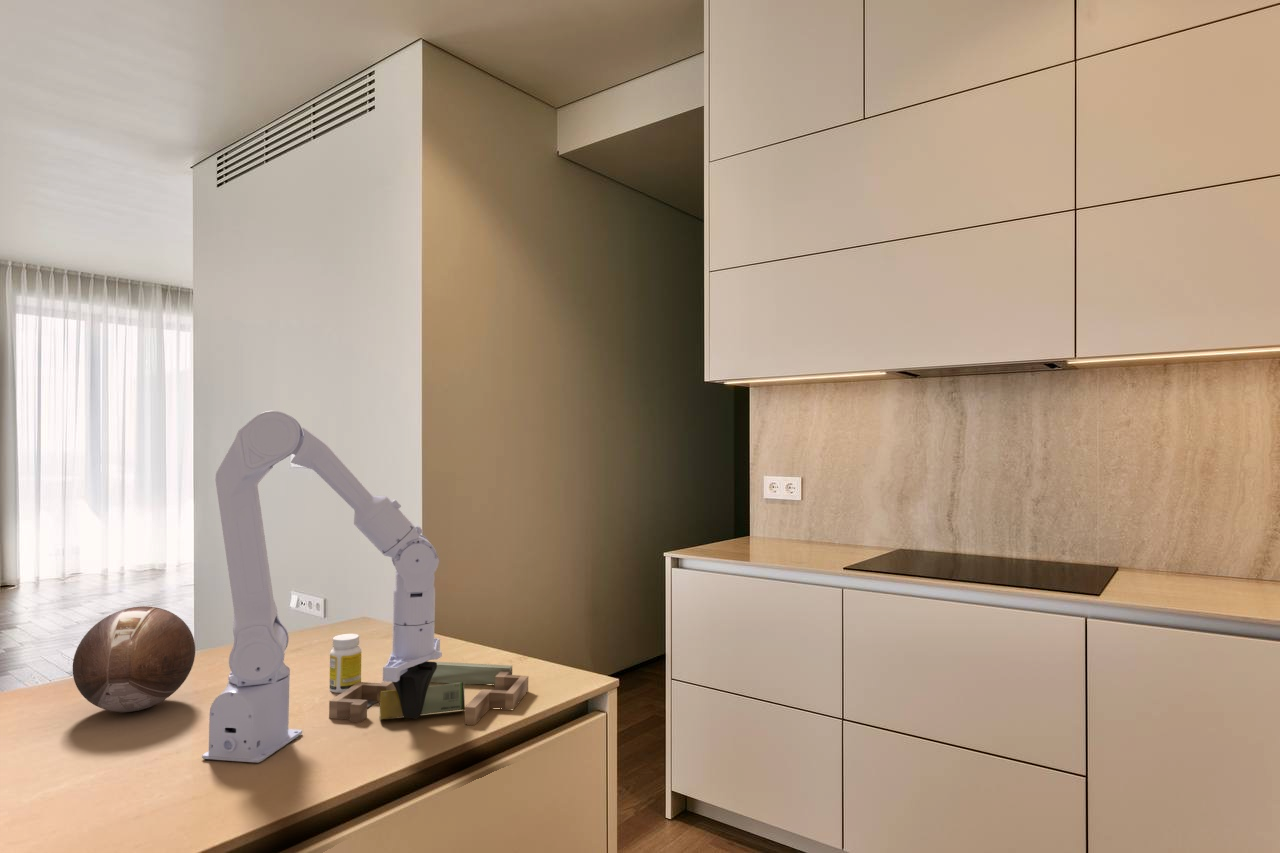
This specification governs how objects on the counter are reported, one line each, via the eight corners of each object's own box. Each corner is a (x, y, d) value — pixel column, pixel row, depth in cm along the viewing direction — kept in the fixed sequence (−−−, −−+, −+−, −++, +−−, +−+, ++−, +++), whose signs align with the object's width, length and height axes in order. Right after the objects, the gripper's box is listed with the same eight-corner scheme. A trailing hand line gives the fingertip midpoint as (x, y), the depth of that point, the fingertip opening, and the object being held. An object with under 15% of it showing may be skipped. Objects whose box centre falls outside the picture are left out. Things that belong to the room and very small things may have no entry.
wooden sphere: (65, 737, 97) (68, 625, 98) (76, 703, 110) (78, 603, 110) (196, 714, 106) (198, 611, 106) (192, 685, 118) (194, 593, 119)
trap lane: (496, 730, 101) (496, 709, 101) (325, 720, 104) (326, 699, 104) (533, 684, 120) (533, 666, 121) (388, 676, 124) (389, 659, 124)
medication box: (463, 709, 109) (463, 681, 110) (465, 710, 107) (465, 681, 108) (379, 719, 105) (379, 690, 106) (379, 720, 103) (379, 690, 104)
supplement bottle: (366, 684, 120) (367, 633, 120) (352, 694, 115) (353, 641, 115) (338, 683, 120) (339, 632, 120) (323, 692, 115) (324, 639, 116)
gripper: (419, 635, 96) (417, 738, 96) (459, 610, 110) (458, 700, 110) (368, 633, 97) (366, 735, 96) (415, 608, 111) (413, 697, 111)
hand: (412, 716), depth 103 cm, fingers closed
